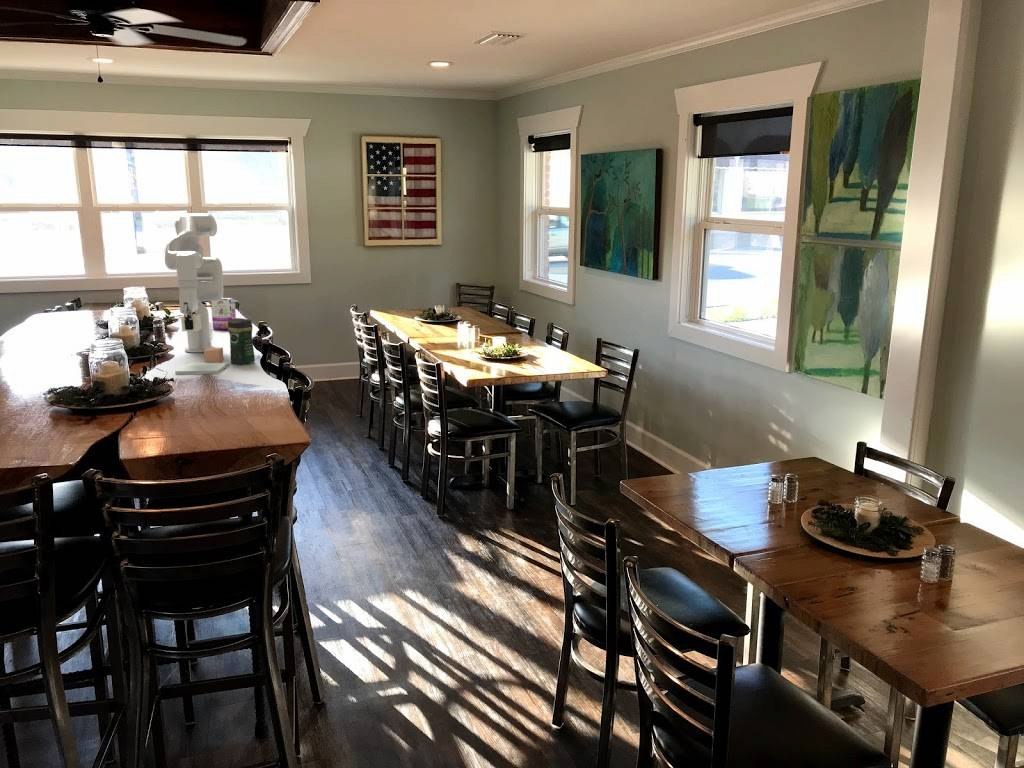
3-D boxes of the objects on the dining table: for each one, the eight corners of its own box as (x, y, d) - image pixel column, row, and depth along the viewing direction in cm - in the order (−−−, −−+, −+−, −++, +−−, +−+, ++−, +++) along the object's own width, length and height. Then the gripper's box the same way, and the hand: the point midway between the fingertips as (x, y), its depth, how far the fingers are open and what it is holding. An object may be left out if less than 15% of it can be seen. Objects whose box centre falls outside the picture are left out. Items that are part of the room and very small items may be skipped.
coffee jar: (258, 362, 336) (255, 318, 332) (243, 365, 329) (240, 320, 325) (242, 359, 341) (239, 316, 337) (227, 363, 334) (223, 318, 330)
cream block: (186, 328, 334) (185, 314, 332) (201, 328, 334) (200, 314, 333) (182, 331, 328) (180, 316, 326) (197, 331, 328) (196, 316, 327)
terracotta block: (209, 361, 337) (207, 347, 335) (223, 361, 337) (222, 347, 336) (205, 364, 331) (203, 350, 330) (220, 364, 332) (219, 350, 330)
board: (187, 366, 328) (187, 363, 327) (228, 365, 329) (228, 362, 329) (175, 374, 312) (175, 371, 312) (218, 373, 313) (217, 370, 313)
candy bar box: (237, 329, 422) (235, 297, 419) (232, 330, 418) (230, 299, 414) (217, 328, 424) (215, 297, 420) (212, 329, 419) (210, 298, 416)
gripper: (184, 281, 334) (188, 324, 339) (171, 287, 318) (175, 332, 322) (203, 281, 335) (206, 324, 340) (191, 287, 318) (195, 332, 323)
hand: (191, 327), depth 331 cm, fingers closed on cream block, 6 cm apart
